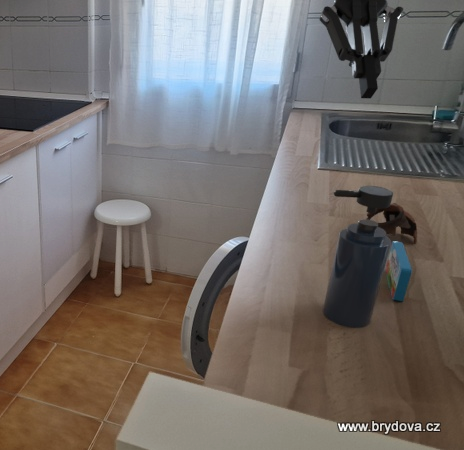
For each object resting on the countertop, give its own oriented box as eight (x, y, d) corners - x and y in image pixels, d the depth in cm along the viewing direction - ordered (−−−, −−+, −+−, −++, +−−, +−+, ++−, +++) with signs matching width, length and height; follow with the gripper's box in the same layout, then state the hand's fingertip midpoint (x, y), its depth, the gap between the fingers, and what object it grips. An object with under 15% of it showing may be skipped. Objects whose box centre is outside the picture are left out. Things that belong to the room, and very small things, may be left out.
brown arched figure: (422, 252, 109) (411, 220, 106) (371, 261, 115) (358, 231, 112) (418, 218, 118) (407, 188, 115) (370, 227, 124) (359, 199, 121)
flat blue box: (385, 270, 102) (392, 240, 99) (394, 271, 101) (402, 241, 99) (392, 300, 91) (401, 268, 89) (402, 302, 91) (412, 270, 88)
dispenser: (361, 306, 90) (384, 215, 84) (377, 329, 84) (403, 233, 77) (317, 302, 91) (336, 212, 85) (329, 326, 85) (351, 230, 78)
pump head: (381, 207, 82) (386, 186, 81) (392, 218, 78) (398, 196, 77) (326, 204, 83) (330, 183, 82) (334, 215, 79) (339, 193, 78)
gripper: (387, -4, 97) (402, 107, 89) (311, -4, 99) (318, 105, 91) (406, -38, 90) (425, 79, 82) (324, -37, 92) (334, 78, 84)
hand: (369, 93), depth 86 cm, fingers closed
